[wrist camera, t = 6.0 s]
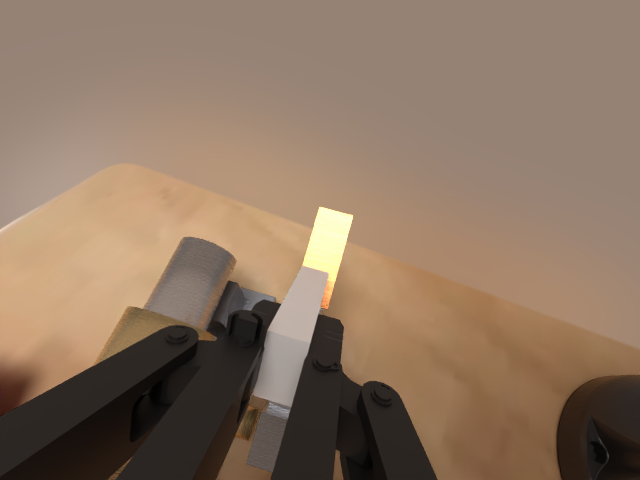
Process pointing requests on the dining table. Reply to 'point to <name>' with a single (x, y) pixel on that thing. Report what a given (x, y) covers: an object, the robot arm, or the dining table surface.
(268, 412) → the lever
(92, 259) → the dining table surface
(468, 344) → the dining table surface
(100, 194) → the dining table surface
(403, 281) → the dining table surface
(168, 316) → the valve stand
